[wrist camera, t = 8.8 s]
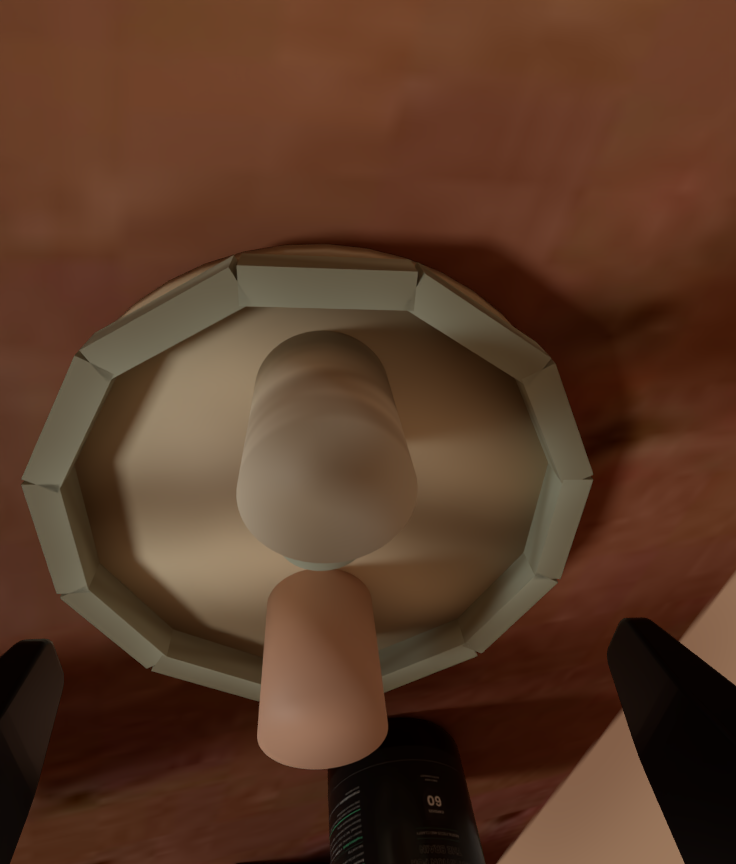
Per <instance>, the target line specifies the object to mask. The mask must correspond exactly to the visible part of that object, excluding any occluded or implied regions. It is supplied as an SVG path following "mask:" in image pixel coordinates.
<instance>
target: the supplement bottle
mask: <svg viewBox="0 0 736 864" xmlns="http://www.w3.org/2000/svg"><path fill="white" fill-rule="evenodd" d="M328 806H329V836H330V864H485V860H484V855H483V851H482V847H481V843H480V838H479V834H478V830H477V826H476V821H475V817H474V813H473V809H472V804H471V800H470V796H469V792H468V787H467V783H466V779H465V775H464V771H463V767H462V763H461V759H460V755H459V751H458V748H457V745H456V743H455V741H454V740H453V738H452V737H451V736H450V735H449V734H448V733H447V732H446V731H445V730H444V729H442V728H441V727H439V726H437V725H435V724H433V723H430V722H427V721H424V720H419V719H410V718H397V719H388V732H387V735H386V737H385V740H384V741H383V742H382V744H381V745H380V746H379V747H378V748H377V749H376V750H375V751H374V752H372V753H371V754H369V755H368V756H366V757H364V758H362V759H361V760H358V761H356V762H353V763H351V764H347V765H344V766H340V767H335V768H328Z"/></svg>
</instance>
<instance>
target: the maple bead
mask: <svg viewBox="0 0 736 864" xmlns="http://www.w3.org/2000/svg"><path fill="white" fill-rule="evenodd" d="M417 491H418V485H417V477H416V473H415V470H414V466H413V463H412V459H411V456H410V453H409V449H408V446H407V442H406V439H405V436H404V432H403V429H402V425H401V422H400V418H399V415H398V412H397V408H396V405H395V401H394V398H393V395H392V391H391V388H390V384H389V381H388V377H387V374H386V371H385V369H384V366H383V364H382V363H381V361H380V359H379V358H378V357H377V355H376V354H375V353H374V352H373V351H372V350H371V349H370V348H369V347H368V346H367V345H365V344H364V343H362V342H361V341H359V340H358V339H356V338H354V337H352V336H349V335H346V334H343V333H339V332H334V331H324V330H323V331H311V332H305V333H302V334H298V335H295V336H293V337H291V338H289V339H287V340H285V341H283V342H282V343H280V344H279V345H278V346H277V347H275V348H274V349H273V350H272V351H271V352H270V353H269V354H268V355H267V357H266V358H265V360H264V361H263V362H262V364H261V366H260V368H259V371H258V374H257V377H256V381H255V387H254V393H253V398H252V404H251V409H250V415H249V421H248V426H247V432H246V438H245V443H244V449H243V454H242V460H241V466H240V471H239V477H238V483H237V488H236V499H237V505H238V509H239V512H240V515H241V518H242V520H243V522H244V523H245V525H246V527H247V528H248V529H249V531H250V532H251V533H252V534H253V535H254V537H255V538H256V539H257V540H258V541H260V542H261V543H262V544H264V545H265V546H266V547H268V548H269V549H271V550H273V551H274V552H276V553H278V554H281V555H283V556H285V557H288V558H291V559H294V560H299V561H303V562H310V563H338V562H344V561H349V560H353V559H357V558H360V557H363V556H365V555H368V554H370V553H372V552H374V551H376V550H378V549H380V548H381V547H383V546H384V545H386V544H387V543H388V542H390V541H391V540H392V539H393V538H395V536H396V535H397V534H398V533H399V532H400V531H401V530H402V529H403V528H404V526H405V525H406V524H407V522H408V520H409V519H410V517H411V515H412V513H413V510H414V507H415V504H416V500H417Z"/></svg>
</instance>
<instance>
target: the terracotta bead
mask: <svg viewBox="0 0 736 864" xmlns="http://www.w3.org/2000/svg"><path fill="white" fill-rule="evenodd" d="M387 732H388V720H387V713H386V705H385V698H384V690H383V682H382V675H381V667H380V660H379V652H378V644H377V637H376V629H375V622H374V614H373V606H372V599H371V594H370V592H369V590H368V588H367V586H366V585H365V584H364V583H363V582H362V581H361V580H360V579H359V578H357V577H356V576H354V575H352V574H350V573H348V572H345V571H342V570H338V569H334V570H328V571H313V570H303V571H299V572H297V573H294V574H292V575H290V576H288V577H286V578H285V579H283V580H282V581H281V582H280V583H278V584H277V585H276V586H275V588H274V589H273V590H272V592H271V593H270V596H269V598H268V602H267V613H266V626H265V639H264V652H263V665H262V678H261V691H260V705H259V718H258V731H257V740H258V744H259V746H260V748H261V749H262V751H263V752H264V753H265V754H266V755H267V756H269V757H270V758H271V759H273V760H275V761H277V762H279V763H281V764H284V765H287V766H290V767H295V768H301V769H328V768H335V767H340V766H344V765H347V764H351V763H353V762H356V761H358V760H361V759H362V758H364V757H366V756H368V755H369V754H371V753H372V752H374V751H375V750H376V749H377V748H378V747H379V746H380V745H381V744H382V742H383V741H384V740H385V737H386V735H387Z"/></svg>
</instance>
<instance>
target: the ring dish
mask: <svg viewBox="0 0 736 864" xmlns="http://www.w3.org/2000/svg"><path fill="white" fill-rule="evenodd" d="M323 330H324V331H334V332H339V333H343V334H346V335H349V336H352V337H354V338H356V339H358V340H359V341H361V342H362V343H364V344H365V345H367V346H368V347H369V348H370V349H371V350H372V351H373V352H374V353H375V354H376V355H377V357H378V358H379V359H380V361H381V363H382V364H383V366H384V369H385V371H386V374H387V377H388V381H389V384H390V388H391V391H392V395H393V398H394V401H395V405H396V408H397V412H398V415H399V418H400V422H401V425H402V429H403V432H404V436H405V439H406V442H407V446H408V449H409V453H410V456H411V459H412V463H413V466H414V470H415V473H416V477H417V485H418V491H417V500H416V504H415V507H414V510H413V513H412V515H411V517H410V519H409V520H408V522H407V524H406V525H405V526H404V528H403V529H402V530H401V531H400V532H399V533H398V534H397V535H396V536H395V538H393V539H392V540H391V541H390V542H388V543H387V544H386V545H384V546H383V547H381V548H380V549H378V550H376V551H374V552H372V553H370V554H368V555H365V556H363V557H360V558H357V559H353V560H349V561H344V562H338V563H310V562H303V561H299V560H294V559H291V558H288V557H285V556H283V555H281V554H278V553H276V552H274V551H273V550H271V549H269V548H268V547H266V546H265V545H264V544H262V543H261V542H260V541H258V540H257V539H256V538H255V537H254V535H253V534H252V533H251V532H250V531H249V529H248V528H247V527H246V525H245V523H244V522H243V520H242V518H241V515H240V512H239V509H238V505H237V499H236V488H237V483H238V477H239V471H240V466H241V460H242V454H243V449H244V443H245V438H246V432H247V426H248V421H249V415H250V409H251V404H252V398H253V393H254V387H255V381H256V377H257V374H258V371H259V368H260V366H261V364H262V362H263V361H264V360H265V358H266V357H267V355H268V354H269V353H270V352H271V351H272V350H273V349H274V348H275V347H277V346H278V345H279V344H280V343H282V342H283V341H285V340H287V339H289V338H291V337H293V336H295V335H298V334H302V333H305V332H311V331H323ZM591 475H593V472H592V469H591V466H590V463H589V460H588V457H587V454H586V451H585V448H584V446H583V443H582V440H581V437H580V434H579V431H578V428H577V425H576V422H575V419H574V416H573V413H572V410H571V407H570V405H569V402H568V399H567V396H566V393H565V390H564V387H563V384H562V381H561V378H560V375H559V372H558V369H557V366H556V364H555V362H554V361H553V360H552V358H551V357H550V356H549V355H548V354H547V353H546V352H545V351H544V350H543V349H542V348H541V347H540V346H539V345H538V343H537V342H535V341H534V340H532V339H531V338H529V337H528V336H526V335H525V334H523V333H522V332H520V331H519V330H517V329H516V328H515V327H513V326H512V325H511V324H510V323H509V321H508V320H507V319H506V318H505V317H504V316H503V315H502V314H501V313H500V312H499V311H498V310H497V309H495V308H494V307H493V306H492V305H490V304H489V303H488V302H487V301H485V300H484V299H483V298H482V297H480V296H479V295H478V294H477V293H475V292H474V291H473V290H471V289H469V288H468V287H466V286H464V285H462V284H461V283H459V282H457V281H456V280H454V279H452V278H450V277H449V276H447V275H445V274H443V273H442V272H439V271H437V270H434V269H432V268H429V267H427V266H425V265H422V264H420V263H418V262H415V261H412V260H410V259H407V258H404V257H400V256H396V255H392V254H388V253H384V252H380V251H376V250H372V249H368V248H359V247H350V246H341V245H331V244H305V245H282V246H276V247H270V248H264V249H258V250H252V251H245V252H241V253H238V254H235V255H232V256H228V257H225V258H222V259H219V260H215V261H212V262H209V263H206V264H203V265H201V266H199V267H197V268H195V269H193V270H191V271H188V272H186V273H184V274H182V275H180V276H178V277H176V278H174V279H171V280H169V281H168V282H166V283H165V284H163V285H162V286H160V287H159V288H157V289H156V290H154V291H153V292H151V293H150V294H148V295H147V296H145V297H144V298H142V299H141V300H139V301H138V302H136V303H135V304H134V305H133V306H132V307H131V308H130V309H129V310H127V311H126V312H125V313H124V314H123V315H122V316H121V317H120V318H119V319H118V320H117V321H115V322H114V323H112V324H110V325H108V326H107V327H105V328H103V329H101V330H99V331H98V332H96V333H95V334H94V335H93V336H92V337H91V338H90V339H89V340H88V341H87V342H86V343H85V345H84V346H83V347H82V348H81V349H80V350H79V351H78V352H77V353H76V355H75V356H74V358H73V360H72V363H71V365H70V367H69V370H68V372H67V374H66V377H65V379H64V381H63V384H62V386H61V388H60V391H59V393H58V395H57V398H56V400H55V402H54V405H53V407H52V409H51V412H50V414H49V416H48V418H47V421H46V423H45V425H44V428H43V430H42V432H41V435H40V437H39V439H38V442H37V444H36V446H35V449H34V451H33V453H32V456H31V458H30V460H29V463H28V465H27V467H26V470H25V472H24V474H23V477H22V480H24V482H23V483H22V484H21V485H22V489H23V492H24V495H25V498H26V501H27V504H28V507H29V510H30V513H31V516H32V519H33V522H34V525H35V528H36V531H37V535H38V538H39V541H40V544H41V547H42V550H43V553H44V556H45V559H46V562H47V565H48V568H49V571H50V574H51V577H52V581H53V584H54V587H55V590H56V593H57V594H62V595H61V597H60V598H61V599H62V600H63V601H64V602H65V603H67V604H68V605H69V606H70V607H72V608H73V609H74V610H75V611H76V612H78V613H79V614H80V615H81V616H83V617H84V618H85V619H86V620H88V621H89V622H90V623H91V624H92V625H94V626H95V627H96V628H97V629H99V630H100V631H101V632H102V633H103V634H105V635H106V636H107V637H108V638H110V639H111V640H112V641H113V642H115V643H116V644H117V645H118V646H119V647H121V648H122V649H123V650H124V651H126V652H127V653H128V654H129V655H130V656H132V657H133V658H134V659H135V660H137V661H138V662H139V663H140V664H141V665H143V666H144V667H145V668H146V669H147V668H149V667H152V670H151V671H153V672H157V673H160V674H164V675H167V676H171V677H174V678H178V679H181V680H185V681H188V682H192V683H195V684H199V685H202V686H206V687H209V688H213V689H216V690H220V691H223V692H227V693H230V694H234V695H238V696H241V697H245V698H248V699H252V700H255V701H259V700H260V691H261V678H262V665H263V652H264V639H265V626H266V613H267V602H268V598H269V596H270V593H271V592H272V590H273V589H274V588H275V586H276V585H277V584H278V583H280V582H281V581H282V580H283V579H285V578H286V577H288V576H290V575H292V574H294V573H297V572H299V571H303V570H313V571H328V570H334V569H338V570H342V571H345V572H348V573H350V574H352V575H354V576H356V577H357V578H359V579H360V580H361V581H362V582H363V583H364V584H365V585H366V586H367V588H368V590H369V592H370V594H371V599H372V606H373V614H374V622H375V629H376V637H377V644H378V652H379V660H380V667H381V675H382V682H383V690H384V693H385V692H387V691H390V690H392V689H395V688H397V687H400V686H402V685H405V684H408V683H410V682H413V681H415V680H418V679H420V678H423V677H425V676H428V675H430V674H433V673H435V672H438V671H441V670H443V669H446V668H448V667H451V666H453V665H456V664H458V663H461V662H463V661H466V660H469V659H471V658H474V657H476V656H477V653H476V651H477V652H479V653H483V652H484V651H485V650H486V649H487V648H488V647H489V646H490V645H491V644H492V643H493V642H494V641H496V640H497V639H498V638H499V637H500V636H501V635H502V634H503V633H504V632H505V631H506V630H507V629H508V628H509V627H511V626H512V625H513V624H514V623H515V622H516V621H517V620H518V619H519V618H520V617H521V616H522V615H523V614H525V613H526V612H527V611H528V610H529V609H530V608H531V607H532V606H533V605H534V604H535V603H536V602H537V601H538V600H540V599H541V598H542V597H543V596H544V595H545V594H546V593H547V592H548V591H549V590H550V589H551V588H552V587H554V586H555V585H556V584H557V583H558V582H557V580H556V579H561V576H562V573H563V569H564V566H565V563H566V560H567V557H568V554H569V551H570V548H571V545H572V542H573V539H574V536H575V533H576V530H577V527H578V524H579V521H580V518H581V515H582V512H583V509H584V506H585V503H586V500H587V497H588V494H589V491H590V488H591V485H592V482H593V479H592V477H591Z"/></svg>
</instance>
